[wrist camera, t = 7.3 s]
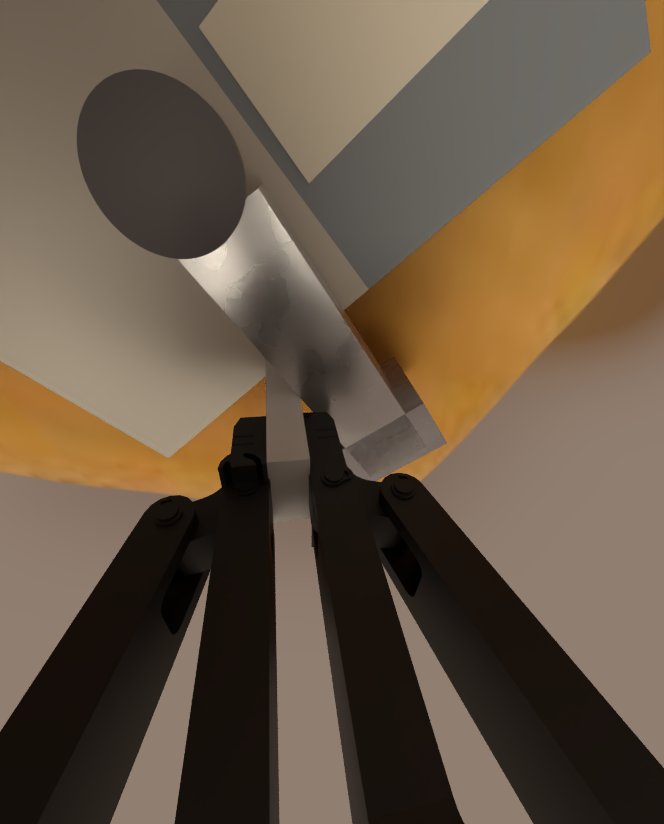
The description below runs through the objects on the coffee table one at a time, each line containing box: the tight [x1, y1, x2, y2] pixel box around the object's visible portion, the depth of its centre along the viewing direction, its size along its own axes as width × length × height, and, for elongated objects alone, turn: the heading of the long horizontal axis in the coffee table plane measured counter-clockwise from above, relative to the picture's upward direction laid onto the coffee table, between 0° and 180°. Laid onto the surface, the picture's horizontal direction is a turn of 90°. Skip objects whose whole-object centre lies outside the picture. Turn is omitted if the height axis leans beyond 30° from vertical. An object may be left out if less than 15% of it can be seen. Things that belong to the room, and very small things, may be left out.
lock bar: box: [178, 183, 447, 481], centre depth 13 cm, size 11×4×4 cm, turn 33°
